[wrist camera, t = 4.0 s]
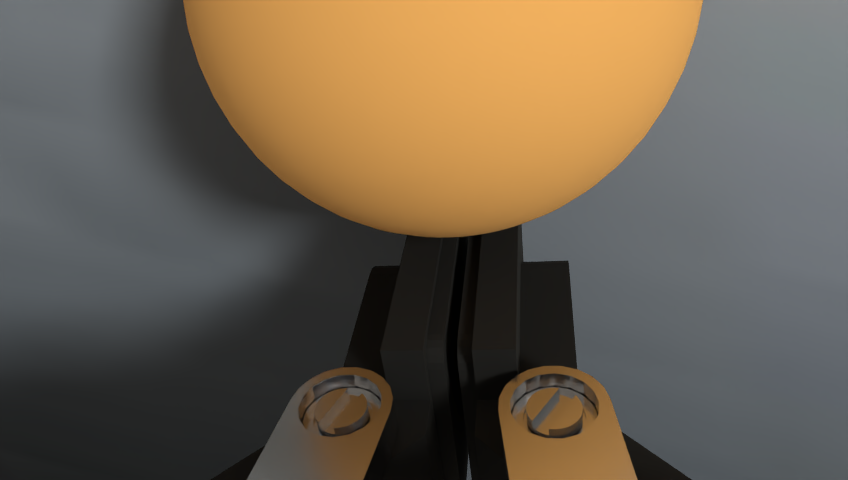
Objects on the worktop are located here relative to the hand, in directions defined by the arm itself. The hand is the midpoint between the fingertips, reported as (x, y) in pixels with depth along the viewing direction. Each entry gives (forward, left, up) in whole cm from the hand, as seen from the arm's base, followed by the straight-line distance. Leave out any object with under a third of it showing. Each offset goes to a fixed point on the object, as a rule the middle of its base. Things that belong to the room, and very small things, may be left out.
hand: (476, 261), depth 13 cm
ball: (0, -5, +1) cm, 5 cm away
